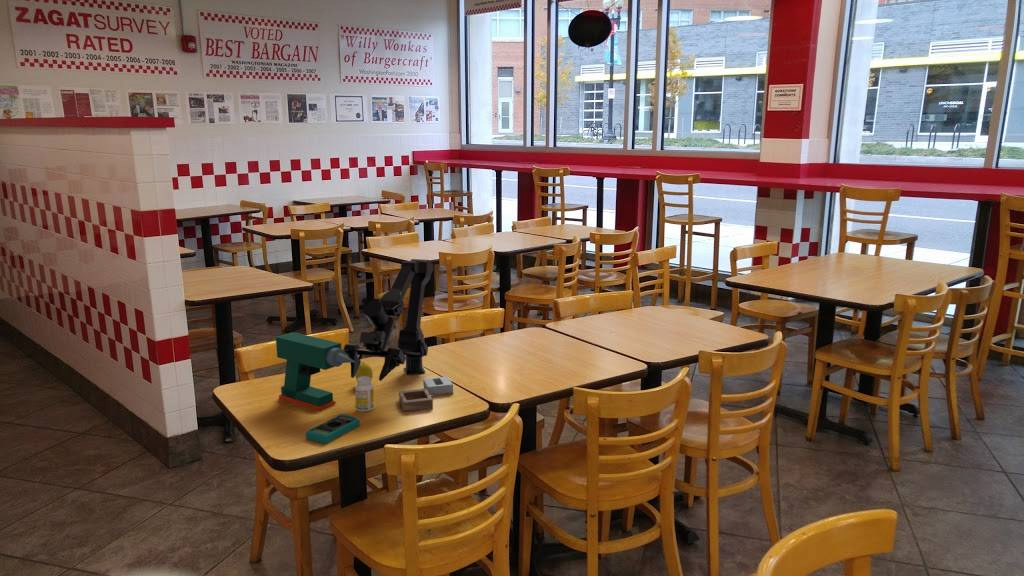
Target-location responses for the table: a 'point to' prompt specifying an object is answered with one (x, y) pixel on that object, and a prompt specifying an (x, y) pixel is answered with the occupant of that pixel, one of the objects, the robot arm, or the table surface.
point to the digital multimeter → (332, 428)
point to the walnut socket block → (415, 400)
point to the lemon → (364, 370)
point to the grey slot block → (438, 385)
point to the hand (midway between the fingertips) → (365, 378)
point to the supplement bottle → (364, 394)
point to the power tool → (307, 368)
